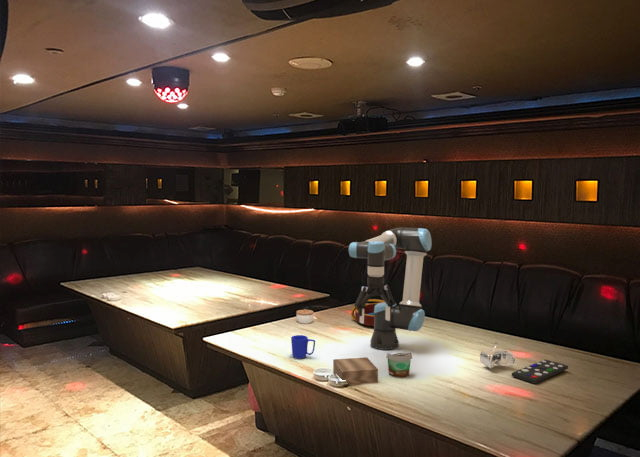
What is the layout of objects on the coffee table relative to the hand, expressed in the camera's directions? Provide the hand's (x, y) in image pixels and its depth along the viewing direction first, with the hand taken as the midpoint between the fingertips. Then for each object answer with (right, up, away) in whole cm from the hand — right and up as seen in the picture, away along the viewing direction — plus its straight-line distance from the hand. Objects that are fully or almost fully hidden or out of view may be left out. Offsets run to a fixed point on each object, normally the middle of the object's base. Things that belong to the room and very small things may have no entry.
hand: (374, 321), depth 228 cm
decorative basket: (+11, -18, +89) cm, 91 cm away
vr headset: (+59, -23, +9) cm, 64 cm away
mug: (-33, -22, +20) cm, 45 cm away
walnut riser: (-10, -24, -6) cm, 26 cm away
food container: (+11, -24, -4) cm, 27 cm away
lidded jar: (-34, -17, +84) cm, 93 cm away
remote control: (+77, -24, +4) cm, 81 cm away
